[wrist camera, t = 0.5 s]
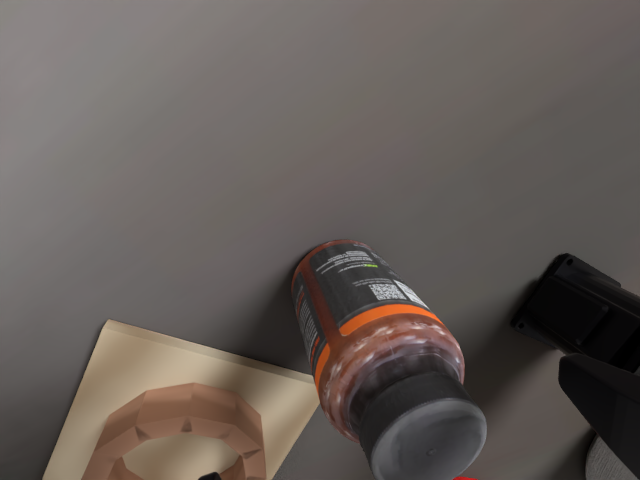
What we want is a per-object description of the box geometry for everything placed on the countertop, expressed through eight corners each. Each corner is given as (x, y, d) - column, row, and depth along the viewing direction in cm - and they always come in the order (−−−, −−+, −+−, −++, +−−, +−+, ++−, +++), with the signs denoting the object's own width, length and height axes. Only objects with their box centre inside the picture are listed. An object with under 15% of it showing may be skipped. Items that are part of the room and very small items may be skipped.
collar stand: (326, 379, 23) (337, 418, 20) (242, 514, 27) (242, 564, 24) (108, 319, 19) (83, 358, 16) (38, 492, 22) (7, 551, 19)
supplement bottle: (314, 337, 22) (376, 542, 12) (271, 265, 19) (302, 444, 9) (396, 295, 22) (529, 461, 12) (364, 218, 20) (497, 342, 9)
